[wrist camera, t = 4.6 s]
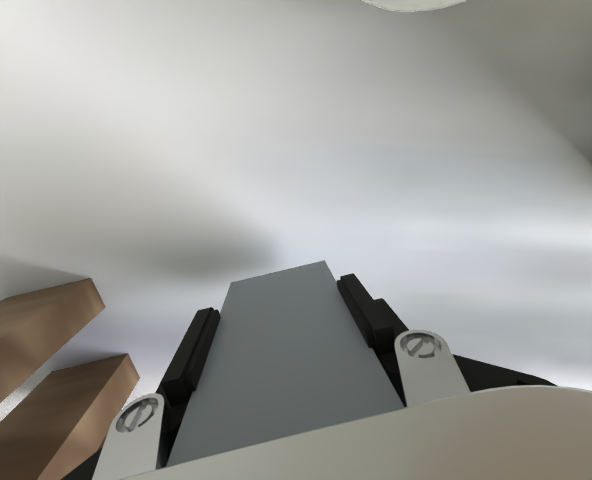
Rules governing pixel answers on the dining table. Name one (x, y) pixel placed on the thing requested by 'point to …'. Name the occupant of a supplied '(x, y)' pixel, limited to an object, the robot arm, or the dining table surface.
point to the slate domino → (281, 366)
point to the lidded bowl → (412, 4)
